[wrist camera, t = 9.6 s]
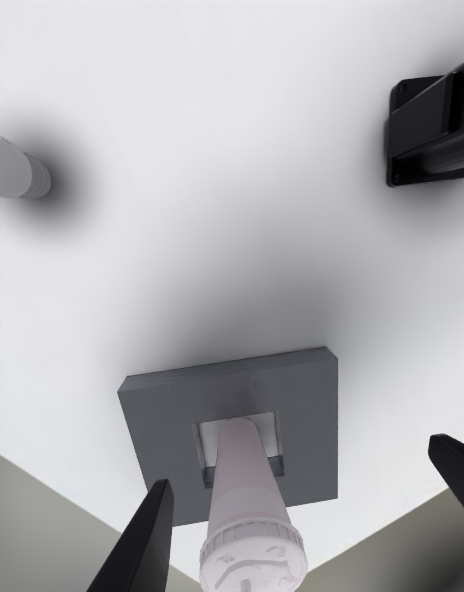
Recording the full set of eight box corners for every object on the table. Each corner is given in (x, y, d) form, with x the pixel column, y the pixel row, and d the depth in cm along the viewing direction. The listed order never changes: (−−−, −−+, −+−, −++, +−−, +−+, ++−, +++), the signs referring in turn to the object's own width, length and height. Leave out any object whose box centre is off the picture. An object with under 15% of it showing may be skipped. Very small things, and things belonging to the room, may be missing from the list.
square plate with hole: (326, 346, 20) (337, 358, 18) (328, 477, 24) (337, 498, 23) (126, 376, 20) (117, 391, 18) (163, 505, 24) (159, 529, 22)
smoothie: (197, 416, 21) (163, 729, 8) (261, 397, 21) (341, 679, 8) (217, 465, 23) (218, 791, 9) (276, 447, 23) (363, 750, 9)
